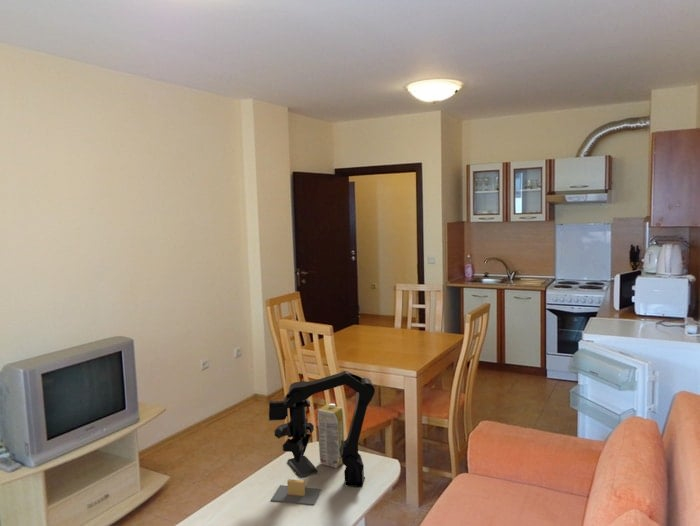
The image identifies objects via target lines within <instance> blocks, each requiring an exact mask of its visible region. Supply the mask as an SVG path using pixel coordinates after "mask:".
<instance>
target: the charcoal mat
mask: <svg viewBox="0 0 700 526" xmlns="http://www.w3.org/2000/svg"><path fill="white" fill-rule="evenodd" d="M321 492H322V488H319V487H307V486H306V487H305V495H304V496H300V495H289V494H288V485H284V484H280V485H279V486H278V488H277V489H276V491H275V492H274V494H273V496H272V497H271V499H270V502H275V503H289V504H295V505H297V504H298V505H306V506H307V505H310V506H315V504H316V502H317V500H318V499H319V496H320V494H321Z"/></svg>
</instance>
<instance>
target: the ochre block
mask: <svg viewBox="0 0 700 526" xmlns="http://www.w3.org/2000/svg"><path fill="white" fill-rule="evenodd" d="M305 483H306V482H305V480H302V479H290V478H288V480H287V483H286V484H287V485H286V486H288V494H289V495H300V496H304V495H305V486H306V485H305Z"/></svg>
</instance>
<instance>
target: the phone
mask: <svg viewBox="0 0 700 526" xmlns="http://www.w3.org/2000/svg"><path fill="white" fill-rule="evenodd" d="M287 463H288V465H289V466H290V468H291V469H292V470H293V471H294V472H295V474H296V475H297V477H298V478H305V477H306V478H307V477H309V476H312V475H316V474H317V475H318V473H319V471H318V469H317V468H316V466H315V465H314V464H313V463H312V461H311V460H310V459H309V458H308V457H307V456H306V455H303V456H301V458H300V461H299V463H297V462H296V461H295V458H294V457H293V458H288V459H287Z"/></svg>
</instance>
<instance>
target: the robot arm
mask: <svg viewBox="0 0 700 526" xmlns="http://www.w3.org/2000/svg"><path fill="white" fill-rule="evenodd" d="M344 385H345V386H347V387H349V388H350V389H351V390H353V391H355V393H356V394H355V395H356V402H355V406H354V411H353V415H352V419H351V423H350V426H349V431H348V434H347V437H346V439H344V440H342V441H341V447H340V448H339V451H340V456H341V458H342V462H343V463H342V464H343V466H345V469H344V471H343V473H344V482H345V483H344V486H348V487H358V488H359V487H360V488H362V487H363V486H364V483H365V480H366V476H365V466H364V462H363V459H362V455H361V454H360V453H359V440H360V436H361V432H362V428H363V424H364V420H365V417H366V413H367V409H368V406H369V405H370V403H371V402H372V399H373V398H374V395H375V392H376V389H375V386H374V385H373V382H372V380H371V379H369V378H367V377H361V376H360V375H357V374H354V373H351V372H350V371H348V370H342V371H341V372H339V373H336V374H331V375H328V376H325V377H321V378H319V379H314V380H312V381H310V380H309V381H307V380H305V381H304V380H303V381H302V380H301V381H296V382H293V383H290V385H289V388H288V392H287V393H286V395H285V396H284V398H283V400H278V401H277V400H276V401H275V400H270V401H269V402H268V405H269V407H268V409H269V410H268V421H270V422H274V421H284V420H285V421H286V419H287V417H288V416H289V422H287V423H283V424H279V425H278V426H277V427H276V428H275V429H274V431H273V432H274V436H275V438H277V439H281V438H283V437H286V436H287V437H288V438H287V439H286V440H285V442H284V443H283V444H282V451H283V452H288V453H292V455H293V458H295V461H296V462H297V463H299V461H300V458H301V456H305V451H306V449H307V447H308V445H309V441H310V439H311V436H312V433H313V432H314V430H315V428H314V427H315V425H314V424H313V423H311V422H308V418H307V417H306V414H307V413H306V408H309V407H311V401H310V400H308V399H309V398H310V397H312V396H313V395H315V394H318V393H321V392H325V391H328V390H331V389H335V388H338V387H341V386H344ZM288 409H289V411H288ZM288 412H289V413H288ZM288 414H289V415H288Z"/></svg>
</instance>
